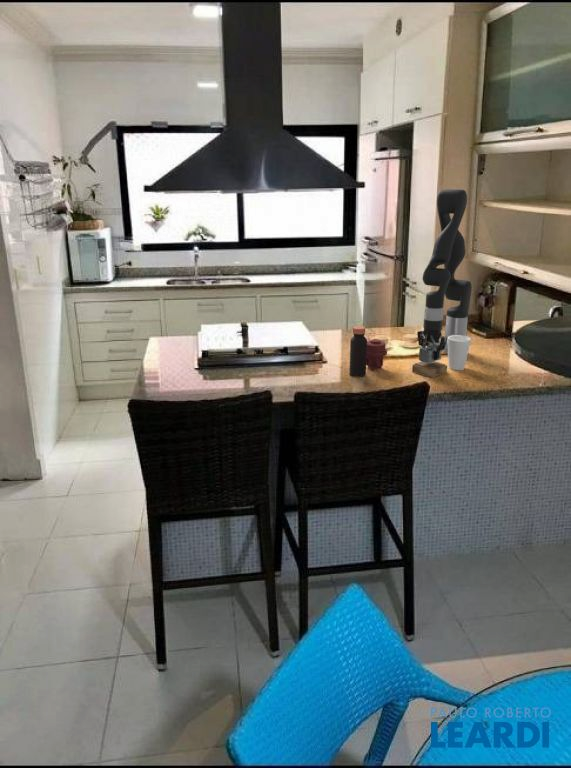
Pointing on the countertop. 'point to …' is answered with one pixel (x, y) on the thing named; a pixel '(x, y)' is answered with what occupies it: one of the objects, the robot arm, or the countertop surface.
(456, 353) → the foam cup
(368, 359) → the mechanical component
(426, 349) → the housing
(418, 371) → the stand
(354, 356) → the bottle
